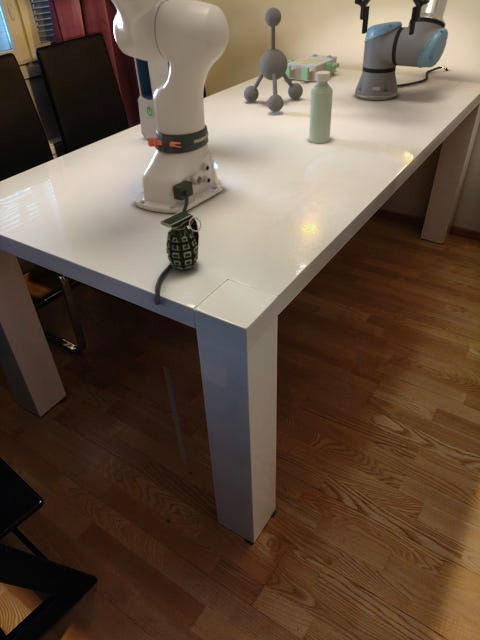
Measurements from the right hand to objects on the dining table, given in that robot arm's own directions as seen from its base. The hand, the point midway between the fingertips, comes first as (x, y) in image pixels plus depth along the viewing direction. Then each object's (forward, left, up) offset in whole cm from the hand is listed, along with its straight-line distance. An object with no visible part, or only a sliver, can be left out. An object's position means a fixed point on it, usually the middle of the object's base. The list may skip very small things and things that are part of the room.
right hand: (387, 33), depth 140 cm
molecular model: (-10, -40, -25) cm, 48 cm away
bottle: (+22, -10, -25) cm, 35 cm away
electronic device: (+38, -56, -25) cm, 72 cm away
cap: (+22, -10, -7) cm, 25 cm away
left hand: (+36, -29, +23) cm, 52 cm away
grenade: (+99, -6, -25) cm, 102 cm away
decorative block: (-55, -47, -25) cm, 76 cm away
